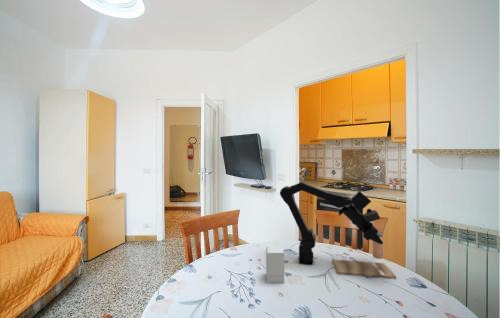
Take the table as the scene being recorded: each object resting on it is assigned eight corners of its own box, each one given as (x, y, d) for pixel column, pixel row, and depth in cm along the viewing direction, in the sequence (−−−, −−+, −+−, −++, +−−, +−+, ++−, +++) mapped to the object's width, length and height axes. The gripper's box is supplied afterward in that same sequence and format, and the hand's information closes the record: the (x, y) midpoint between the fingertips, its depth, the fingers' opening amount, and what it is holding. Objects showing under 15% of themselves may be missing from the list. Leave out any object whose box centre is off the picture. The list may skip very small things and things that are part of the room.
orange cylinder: (377, 259, 98) (377, 234, 98) (370, 255, 102) (370, 231, 102) (385, 258, 99) (384, 234, 99) (378, 254, 103) (377, 231, 103)
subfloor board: (336, 274, 98) (336, 271, 98) (331, 261, 110) (331, 259, 110) (396, 278, 94) (396, 276, 94) (384, 265, 105) (384, 263, 105)
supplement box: (284, 283, 91) (284, 253, 91) (267, 283, 91) (266, 253, 91) (282, 273, 99) (282, 245, 99) (266, 273, 99) (265, 245, 99)
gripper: (372, 209, 92) (403, 237, 89) (363, 200, 110) (389, 224, 107) (352, 226, 95) (381, 254, 92) (346, 215, 113) (371, 238, 109)
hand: (381, 241), depth 100 cm, fingers closed on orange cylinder, 4 cm apart
